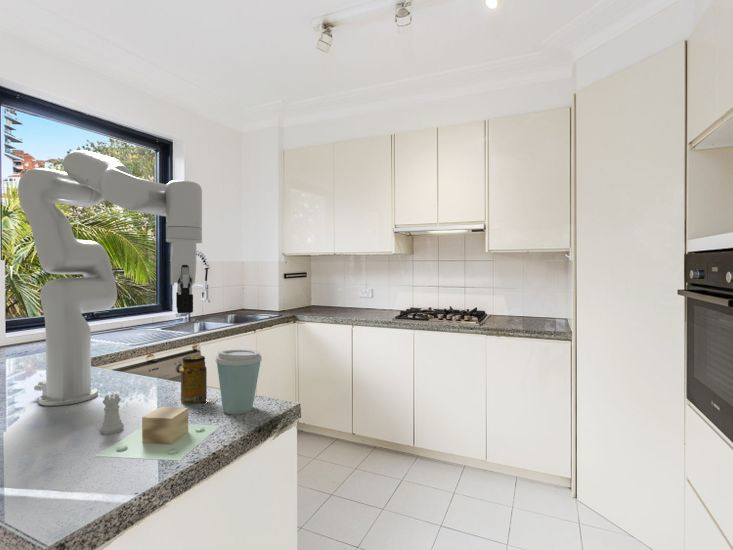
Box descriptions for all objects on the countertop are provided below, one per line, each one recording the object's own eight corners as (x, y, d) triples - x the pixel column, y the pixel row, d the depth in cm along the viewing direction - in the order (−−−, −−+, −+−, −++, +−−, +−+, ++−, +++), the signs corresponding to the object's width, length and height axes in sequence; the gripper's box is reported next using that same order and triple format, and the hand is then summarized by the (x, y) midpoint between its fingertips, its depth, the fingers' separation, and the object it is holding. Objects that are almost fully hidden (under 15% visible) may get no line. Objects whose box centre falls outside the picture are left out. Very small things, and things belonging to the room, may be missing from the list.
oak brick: (142, 443, 79) (142, 417, 79) (160, 430, 85) (160, 406, 85) (171, 444, 78) (171, 418, 78) (188, 431, 84) (188, 407, 84)
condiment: (184, 399, 107) (184, 354, 107) (218, 399, 108) (218, 353, 108) (174, 409, 100) (174, 360, 100) (210, 408, 101) (210, 360, 101)
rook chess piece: (102, 431, 86) (102, 394, 86) (126, 428, 88) (126, 391, 88) (96, 440, 82) (96, 400, 82) (122, 437, 84) (122, 398, 83)
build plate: (94, 460, 73) (94, 454, 73) (149, 425, 89) (149, 420, 89) (179, 465, 72) (179, 458, 72) (220, 429, 88) (220, 424, 88)
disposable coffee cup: (235, 403, 105) (235, 344, 104) (270, 408, 101) (271, 348, 101) (204, 417, 95) (205, 352, 95) (242, 424, 91) (243, 356, 91)
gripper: (166, 237, 100) (166, 307, 100) (165, 232, 84) (165, 315, 85) (199, 238, 103) (199, 306, 103) (204, 234, 88) (204, 314, 88)
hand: (184, 310), depth 94 cm, fingers open, 9 cm apart
